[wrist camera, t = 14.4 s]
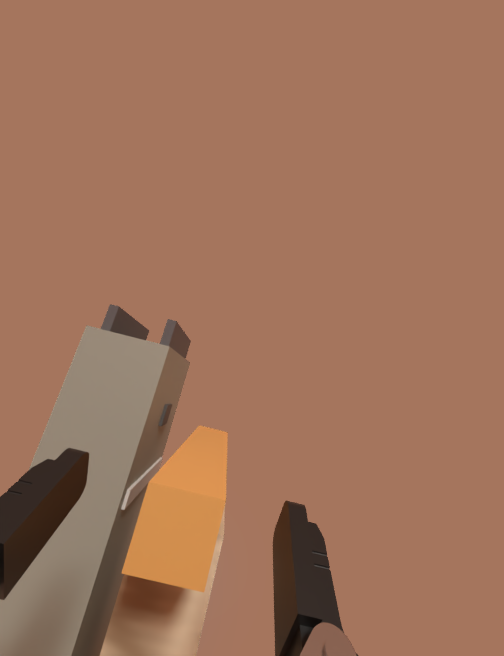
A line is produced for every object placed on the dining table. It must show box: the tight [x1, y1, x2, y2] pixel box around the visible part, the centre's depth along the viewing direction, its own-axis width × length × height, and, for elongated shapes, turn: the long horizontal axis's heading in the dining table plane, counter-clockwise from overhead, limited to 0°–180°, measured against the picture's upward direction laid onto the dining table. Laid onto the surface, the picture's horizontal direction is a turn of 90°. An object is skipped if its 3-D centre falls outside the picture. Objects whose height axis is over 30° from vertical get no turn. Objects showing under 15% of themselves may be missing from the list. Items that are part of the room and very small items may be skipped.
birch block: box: [100, 507, 225, 656], centre depth 20 cm, size 5×12×22 cm, turn 5°
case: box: [0, 305, 190, 656], centre depth 26 cm, size 7×13×34 cm, turn 5°
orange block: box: [122, 426, 228, 592], centre depth 23 cm, size 4×22×4 cm, turn 5°
